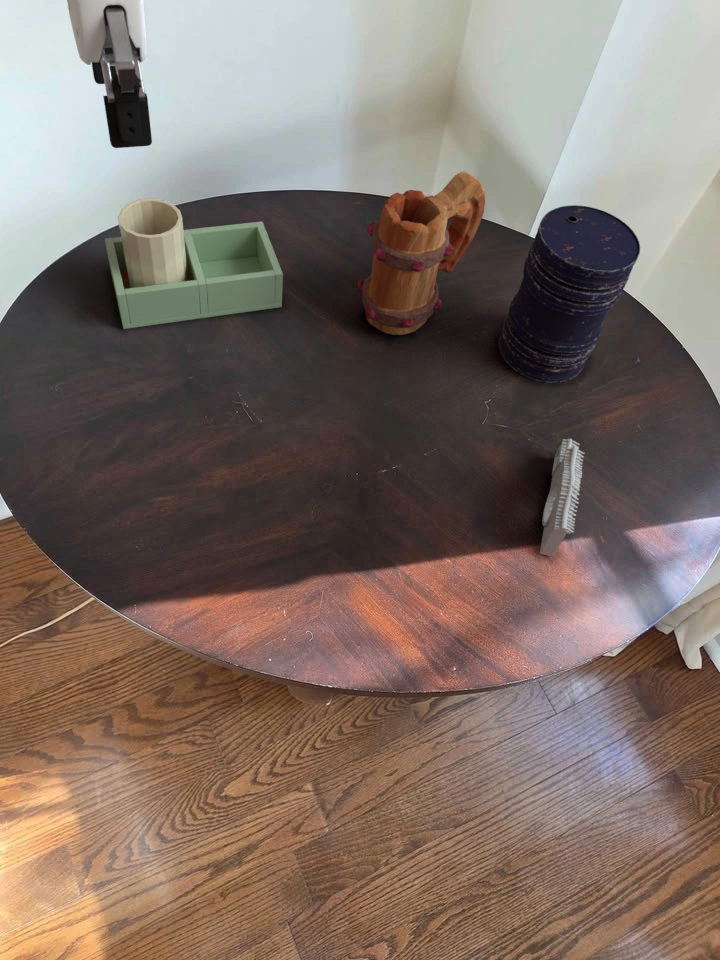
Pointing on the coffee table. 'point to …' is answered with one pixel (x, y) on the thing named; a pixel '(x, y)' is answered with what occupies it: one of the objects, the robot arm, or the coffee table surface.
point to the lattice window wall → (562, 496)
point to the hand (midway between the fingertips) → (122, 112)
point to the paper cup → (153, 242)
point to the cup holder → (204, 278)
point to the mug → (418, 252)
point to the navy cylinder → (567, 292)
